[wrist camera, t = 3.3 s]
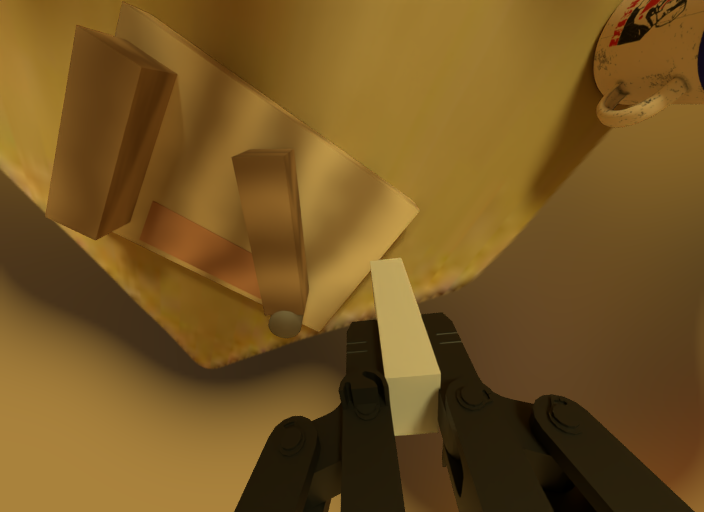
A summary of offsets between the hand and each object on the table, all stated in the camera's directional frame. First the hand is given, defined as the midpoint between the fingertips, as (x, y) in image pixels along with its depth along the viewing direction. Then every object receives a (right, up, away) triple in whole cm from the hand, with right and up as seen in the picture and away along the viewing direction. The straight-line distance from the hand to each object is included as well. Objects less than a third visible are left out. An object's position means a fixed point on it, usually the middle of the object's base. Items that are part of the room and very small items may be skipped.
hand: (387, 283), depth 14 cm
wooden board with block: (-11, +7, +14) cm, 20 cm away
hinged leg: (-8, +3, +13) cm, 15 cm away
